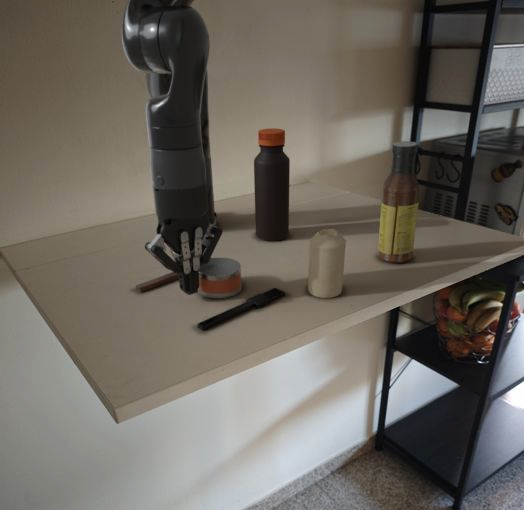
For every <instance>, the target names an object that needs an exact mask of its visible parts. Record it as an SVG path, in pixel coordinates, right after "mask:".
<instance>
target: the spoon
mask: <svg viewBox="0 0 524 510" xmlns="http://www.w3.org/2000/svg"><path fill="white" fill-rule="evenodd" d="M211 258H212V256H211V257H210V259H211ZM175 280H179V276H178V273H177V274H176V273H174V272H173V271H171V272H169V273H166V274H164V275H161V276H158V277H155V278H152V279H150V280H146V281H145V282H141V283H138V284H136V285H135V290H136V291H137V292H140V293H144V292H145V291H148V290H151V289H154V288H157V287H160V286H162V285H165V284H167V283H170V282H172V281H175Z"/></svg>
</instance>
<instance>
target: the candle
mask: <svg viewBox="0 0 524 510" xmlns="http://www.w3.org/2000/svg"><path fill="white" fill-rule="evenodd" d="M346 246H347V241H346V239H345V238H344V236H343V235H342V234H340V233H339V232H338V231H337V230H336V229H334V228H323V229H321V230H320V231H318V230H317V232H316V233H315V234H314V235H312V236H311V238H310V239H309V251H308V252H309V253H308V278H307V279H308V280H307V288H308V293H309V294H310V295H311V296H314V297H317V298H321V299H331V298H335V297H337V296H340V295H341V294H342V291H343V283H344V271H345V257H346Z"/></svg>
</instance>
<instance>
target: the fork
mask: <svg viewBox="0 0 524 510" xmlns="http://www.w3.org/2000/svg"><path fill="white" fill-rule="evenodd" d="M285 296H286V291H283V290H281V289H279V288H277V287H273V288H271V289H269V290H267V291H265V292H262V293H258V294H255V295H253V296H251V297H248V298H246V301H245V302H242V303H241V304H239V305H237V306H234V307H231V308H229V309H228V310H225V311H223V312H220V313H219V314H216V315H214V316H211V317H209V318H207V319H204V320H203V321H200V322H198V323H197V324H196V325H197V328H198V329H199V330H201V331H202V332H203V331H206V330H208V329H210V328H213V327H215V326H217V325H219V324H221V323H223V322H226V321H228V320H230V319H232V318H234V317H236V316H238V315H241V314H243V313H246V312H248V311H250V310H251V309H254V308H255V309H260V308H263V307H265V306H266V305H268V304H271V303H272V302H274V301H276V300H278V299H280V298H283V297H285Z"/></svg>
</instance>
